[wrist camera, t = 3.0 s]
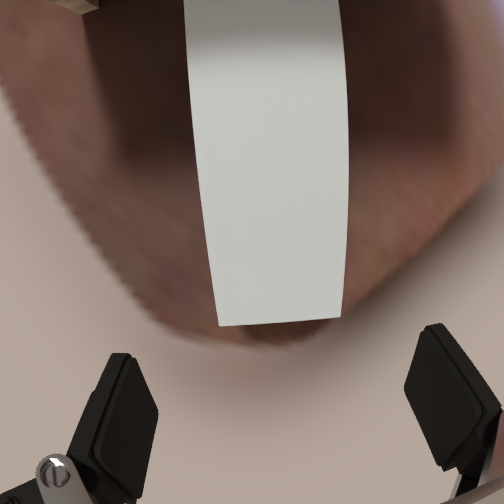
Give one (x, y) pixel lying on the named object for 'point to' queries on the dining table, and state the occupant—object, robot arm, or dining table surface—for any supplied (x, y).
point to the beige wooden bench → (78, 5)
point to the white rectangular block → (271, 154)
